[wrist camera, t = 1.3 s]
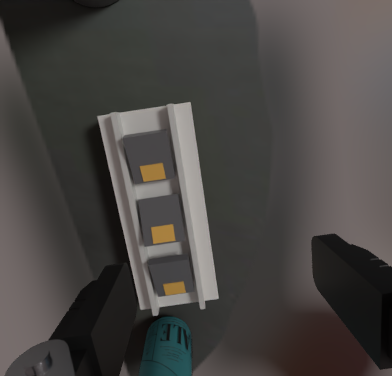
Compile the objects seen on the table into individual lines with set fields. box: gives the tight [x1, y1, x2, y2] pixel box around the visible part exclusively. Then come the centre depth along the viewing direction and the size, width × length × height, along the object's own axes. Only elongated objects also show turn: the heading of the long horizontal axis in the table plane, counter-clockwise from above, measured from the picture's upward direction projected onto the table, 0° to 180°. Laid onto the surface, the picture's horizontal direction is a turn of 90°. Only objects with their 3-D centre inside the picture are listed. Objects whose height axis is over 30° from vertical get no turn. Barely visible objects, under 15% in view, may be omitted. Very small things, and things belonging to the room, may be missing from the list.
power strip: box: [97, 102, 219, 316], centre depth 32 cm, size 24×10×5 cm, turn 8°
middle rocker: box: [138, 194, 185, 247], centre depth 29 cm, size 5×4×1 cm
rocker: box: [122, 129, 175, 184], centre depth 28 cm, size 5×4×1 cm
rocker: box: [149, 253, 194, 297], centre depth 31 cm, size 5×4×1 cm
